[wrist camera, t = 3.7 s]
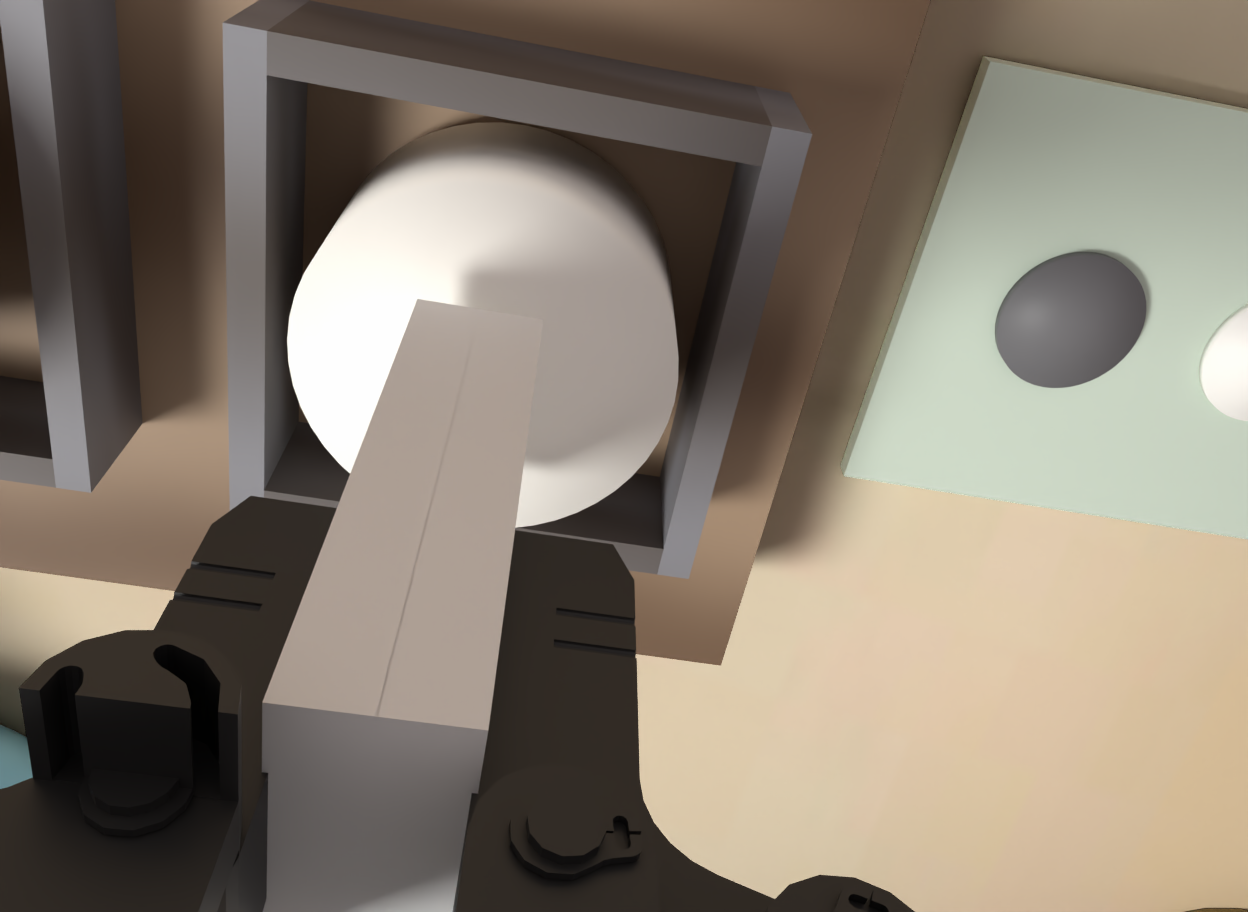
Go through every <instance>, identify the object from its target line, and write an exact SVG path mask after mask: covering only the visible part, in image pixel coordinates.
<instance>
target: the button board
mask: <svg viewBox="0 0 1248 912" xmlns="http://www.w3.org/2000/svg"><path fill="white" fill-rule="evenodd" d="M930 1H931V0H0V567H3V568H10V569H18V570H25V571H32V572H40V573H47V574H54V575H62V576H69V577H76V578H84V579H91V580H98V581H106V582H113V583H120V584H128V585H135V586H142V587H150V588H157V589H164V590H172V591H175V590H176V588H177V586H178V585H179V583H180V581H181V579H182V577H183V575H184V574H185V572H186V570H187V569H190V567H191V561H192V559H193V557H194V555H195V553H196V552H197V550H198V548H199V546H200V544H201V542H202V541H203V539H204V537H205V535H206V533H207V531H208V530H209V528H210V526H211V524H212V523H214V522H215V521H217V520H218V519H219V518H221V517H222V516H223V515H225V514H226V513H228V512H229V511H230V510H232V509H233V508H235V507H236V506H237V505H239V504H240V503H241V502H243V501H244V500H246V499H247V498H248V497H250V496H257V497H264V498H270V499H277V500H284V501H291V502H298V503H305V504H312V505H319V506H326V507H333V508H337V507H338V504H339V502H340V499H341V496H342V494H343V491H344V489H345V486H346V483H347V481H348V478H349V476H350V473H349V472H348V471H347V470H345V469H344V468H343V467H342V466H341V465H340V464H339V463H338V462H337V461H336V460H335V458H334V457H333V456H332V455H331V454H330V453H329V452H328V450H327V449H326V448H325V447H324V446H323V444H322V443H321V441H320V440H319V438H318V437H317V435H316V434H315V432H314V431H313V430H312V428H311V426H310V424H309V422H308V420H307V418H306V417H305V415H304V413H303V411H302V409H301V407H300V404H299V401H298V398H297V395H296V393H295V390H294V387H293V383H292V378H291V373H290V368H289V363H288V347H287V335H288V325H289V316H290V312H291V308H292V304H293V300H294V296H295V293H296V291H297V288H298V286H299V284H300V281H301V279H302V277H303V274H304V272H305V271H306V269H307V267H308V266H309V264H310V263H311V261H312V259H313V258H314V256H315V255H316V253H317V251H318V250H319V248H320V247H321V245H322V244H323V242H324V241H325V239H326V237H327V236H328V234H329V233H330V231H331V230H332V228H333V226H334V225H335V223H336V222H337V220H338V219H339V217H340V216H341V214H342V212H343V211H344V209H345V208H346V206H347V205H348V203H349V202H350V200H351V198H352V197H353V195H354V194H355V192H356V191H357V189H358V187H359V186H360V185H361V183H362V182H363V181H364V180H365V179H366V178H367V176H368V175H369V174H370V173H371V172H372V171H373V169H374V168H376V167H377V166H378V165H379V164H380V163H381V162H383V161H384V160H385V159H386V158H387V157H388V156H390V155H391V154H392V153H394V152H395V151H397V150H398V149H400V148H402V147H403V146H405V145H406V144H408V143H409V142H412V141H414V140H416V139H418V138H420V137H423V136H425V135H427V134H429V133H432V132H435V131H439V130H442V129H445V128H449V127H452V126H458V125H465V124H471V123H490V122H502V123H511V124H519V125H526V126H530V127H534V128H538V129H542V130H546V131H549V132H552V133H555V134H557V135H560V136H562V137H565V138H567V139H570V140H572V141H574V142H576V143H577V144H579V145H581V146H583V147H585V148H586V149H588V150H590V151H592V152H593V153H595V154H596V155H597V156H599V157H600V158H601V159H603V160H604V161H605V162H607V163H608V164H610V165H611V166H612V167H613V168H614V169H615V170H616V171H617V172H618V173H619V174H620V175H621V176H622V177H623V178H625V179H626V180H627V181H628V182H629V184H630V185H631V186H632V187H633V189H634V190H635V191H636V192H637V194H638V195H639V196H640V197H641V199H642V200H643V202H644V203H645V205H646V207H647V208H648V210H649V212H650V213H651V215H652V217H653V218H654V220H655V223H656V225H657V227H658V230H659V232H660V234H661V237H662V239H663V243H664V246H665V250H666V254H667V257H668V262H669V270H670V278H671V287H672V297H673V307H674V317H675V327H676V337H677V347H678V357H679V361H678V385H677V391H676V397H675V403H674V406H673V409H672V412H671V415H670V418H669V421H668V424H667V426H666V428H665V430H664V432H663V434H662V436H661V438H660V440H659V442H658V444H657V445H656V447H655V448H654V450H653V451H652V453H651V454H650V456H649V457H648V459H647V460H646V461H645V462H644V464H643V465H642V466H641V467H640V468H639V469H638V470H637V471H636V472H635V474H634V475H633V476H632V477H631V478H630V479H628V480H627V481H626V482H625V483H624V484H623V485H621V486H620V487H619V488H618V489H617V490H616V491H614V492H613V493H611V494H610V495H608V496H607V497H605V498H604V499H602V500H600V501H599V502H597V503H596V504H594V505H592V506H590V507H588V508H585V509H583V510H581V511H579V512H577V513H575V514H572V515H569V516H566V517H564V518H561V519H558V520H555V521H551V522H546V523H542V524H538V525H534V526H525V527H517V528H515V530H517V531H524V532H531V533H538V534H545V535H552V536H559V537H566V538H572V539H579V540H586V541H593V542H600V543H607V544H613V545H614V547H615V548H616V550H617V552H618V553H619V555H620V557H621V558H622V560H623V562H624V563H625V565H626V567H627V569H628V570H629V572H630V574H631V575H632V577H633V579H634V582H635V625H634V626H636V654H641V655H648V656H655V657H663V658H670V659H677V660H685V661H692V662H699V663H707V664H714V665H721V663H722V660H723V657H724V653H725V650H726V647H727V644H728V641H729V638H730V634H731V631H732V628H733V625H734V622H735V619H736V615H737V612H738V609H739V606H740V603H741V600H742V596H743V593H744V590H745V587H746V584H747V581H748V577H749V574H750V571H751V568H752V565H753V562H754V558H755V555H756V552H757V549H758V546H759V543H760V539H761V536H762V533H763V530H764V527H765V524H766V520H767V517H768V514H769V511H770V508H771V505H772V501H773V498H774V495H775V492H776V489H777V486H778V482H779V479H780V476H781V473H782V470H783V467H784V463H785V460H786V457H787V454H788V451H789V448H790V444H791V441H792V438H793V435H794V432H795V429H796V425H797V422H798V419H799V416H800V413H801V410H802V406H803V403H804V400H805V397H806V394H807V391H808V387H809V384H810V381H811V378H812V375H813V372H814V368H815V365H816V362H817V359H818V356H819V353H820V349H821V346H822V343H823V340H824V337H825V334H826V330H827V327H828V324H829V321H830V318H831V315H832V311H833V308H834V305H835V302H836V299H837V296H838V292H839V289H840V286H841V283H842V280H843V277H844V273H845V270H846V267H847V264H848V261H849V258H850V254H851V251H852V248H853V245H854V242H855V239H856V235H857V232H858V229H859V226H860V223H861V220H862V216H863V213H864V210H865V207H866V204H867V201H868V197H869V194H870V191H871V188H872V185H873V182H874V178H875V175H876V172H877V169H878V166H879V163H880V159H881V156H882V153H883V150H884V147H885V144H886V140H887V137H888V134H889V131H890V128H891V124H892V121H893V118H894V115H895V112H896V109H897V105H898V102H899V99H900V96H901V93H902V90H903V86H904V83H905V80H906V77H907V74H908V71H909V67H910V64H911V61H912V58H913V55H914V52H915V48H916V45H917V42H918V39H919V36H920V33H921V29H922V26H923V23H924V20H925V17H926V14H927V10H928V7H929V4H930Z"/></svg>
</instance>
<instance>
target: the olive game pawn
mask: <svg viewBox="0 0 1248 912" xmlns="http://www.w3.org/2000/svg"><path fill="white" fill-rule="evenodd" d="M1190 912H1248V911H1247V910H1243V909H1201V910H1195V911H1190Z"/></svg>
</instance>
